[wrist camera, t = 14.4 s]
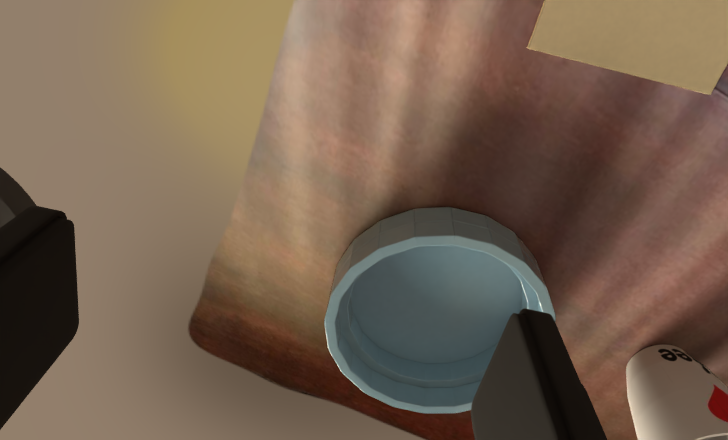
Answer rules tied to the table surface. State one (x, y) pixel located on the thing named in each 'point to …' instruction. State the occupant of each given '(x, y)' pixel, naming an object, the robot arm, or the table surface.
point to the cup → (675, 396)
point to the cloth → (640, 37)
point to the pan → (428, 305)
